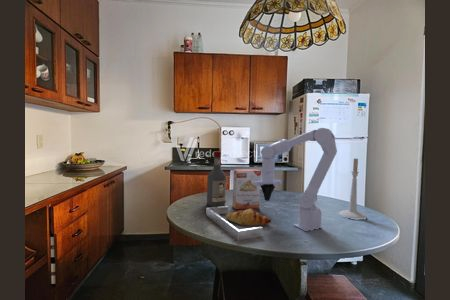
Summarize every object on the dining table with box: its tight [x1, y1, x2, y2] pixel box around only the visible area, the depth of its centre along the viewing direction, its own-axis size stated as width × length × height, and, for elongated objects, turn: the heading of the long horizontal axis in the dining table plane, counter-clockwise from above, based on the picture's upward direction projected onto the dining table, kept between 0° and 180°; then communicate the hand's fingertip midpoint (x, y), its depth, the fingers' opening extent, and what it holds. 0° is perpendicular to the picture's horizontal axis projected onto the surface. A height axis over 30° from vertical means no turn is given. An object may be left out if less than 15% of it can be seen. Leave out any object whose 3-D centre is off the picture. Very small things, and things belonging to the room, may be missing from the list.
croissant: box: [225, 208, 272, 227], centre depth 120 cm, size 21×10×8 cm, turn 73°
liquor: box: [206, 150, 227, 207], centre depth 148 cm, size 9×9×30 cm
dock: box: [205, 205, 264, 241], centre depth 117 cm, size 11×33×4 cm, turn 25°
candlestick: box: [338, 158, 367, 218], centre depth 133 cm, size 13×13×30 cm
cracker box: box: [232, 168, 262, 210], centre depth 144 cm, size 14×6×21 cm, turn 105°
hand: (267, 200), depth 124 cm, fingers closed
